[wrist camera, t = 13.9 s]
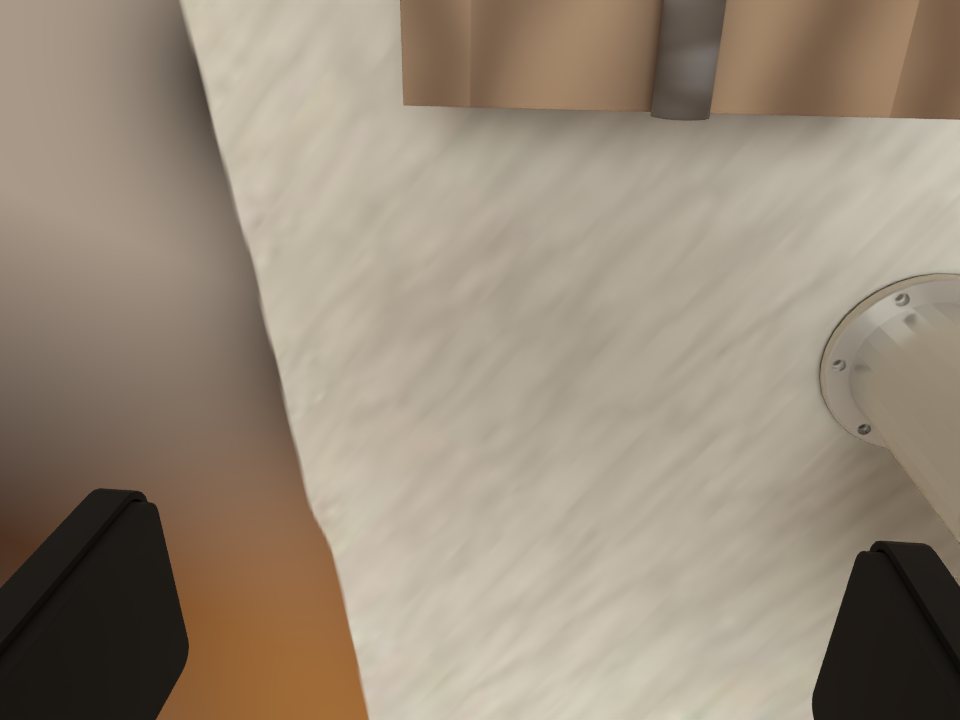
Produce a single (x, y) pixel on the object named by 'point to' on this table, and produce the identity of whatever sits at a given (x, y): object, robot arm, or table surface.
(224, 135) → the table surface
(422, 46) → the shelf
